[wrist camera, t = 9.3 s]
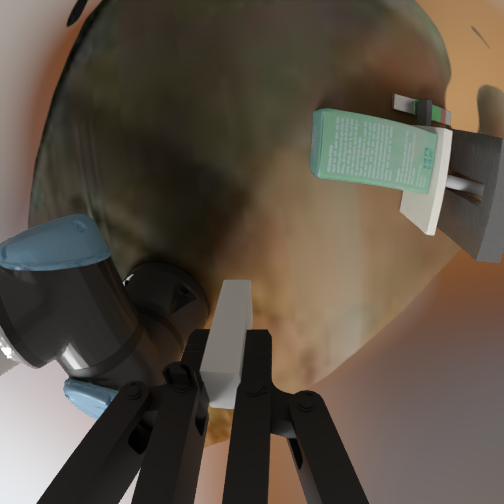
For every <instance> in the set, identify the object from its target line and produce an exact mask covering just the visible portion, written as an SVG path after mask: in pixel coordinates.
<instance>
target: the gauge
mask: <svg viewBox="0 0 504 504" xmlns="http://www.w3.org/2000/svg"><path fill="white" fill-rule="evenodd" d="M392 109H394V110H398V111H402V112H406V113H410V114H412V115H416V116H417V114H418V100H416V99H411V98H408V97H404V96H401V95H397V94H392ZM432 121H435V122H438V123H441V124H445V125H450V122H451V112H449V111H447V110H446V109H443V108H440V107H437V106H435V105H432ZM446 129H448V128H446ZM448 130H451V131H453V132H452V142H451V151H450V159H449V166H448V169H450V170H453V171H455V172H458V173H460V174H463V175H465V176H467V177H470V178H472V179H474V180H477V181H479V182H481V183H483V184H485V185H484V191H483V196H482V200H481V201H480V200H479V199H477V198H475V197H473V196H471V195H469V194H467V193H466V192H464V191H461V190H457V189H453V188H449V187H445V190H444V195H443V200H442V205H441V209H440V214H439V218H438V222H437V227H438V228H439V229H440V230H441V231H443V232H444V233H445V234H446V235H447V236H449V237H450V238H451V239H452V240H453V241H454V242H456V243H457V244H458V245H459V246H460V247H461V248H462V249H463V250H465V251H466V252H467V253H468V254H469V255H470V256H471V257H472V258H473V259H474V260H475V261H484V262H495V263H500V261H501V258H502V255H503V252H504V139H502V138H498V137H493V136H488V135H484V134H479V133H473V132H467V131H462V130H455V129H448Z"/></svg>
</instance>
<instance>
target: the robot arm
mask: <svg viewBox="0 0 504 504" xmlns="http://www.w3.org/2000/svg"><path fill="white" fill-rule="evenodd" d="M110 255H111V251H110V249H109V248H108V247H107V246H106V244H105V242H104V240H103V238H102V235H101V233H100V231H99V229H98V227H97V224H96V223H95V221H94V220H93V219H92V218H91V217H89V216H87V215H84V214H74V215H69V216H65V217H61V218H58V219H55V220H52V221H49V222H46V223H43V224H40V225H38V226H35V227H33V228H30V229H28V230H25V231H23V232H21V233H20V234H18V235H16V236H14V237H12V238H9V239H7V240H5V241H3V242H2V243H0V376H1V375H2V374H4V373H5V372H7V371H8V370H10V369H11V368H13V367H14V366H16V365H18V364H19V363H22V364H25V365H27V366H29V367H32V368H34V369H38V368H41V367H42V366H44V365H46V364H47V363H49V362H51V361H53V360H57V361H58V363H59V364H60V365H61V366H62V368H63V369H64V370H65V371H66V373H67V374H68V375H69V378H68V380H66V381H65V382H64V383H65V385H64V393H65V396H66V397H67V398H68V400H69V401H70V402H71V403H72V404H74V405H75V406H76V407H77V408H78V409H80V410H81V411H83V412H85V413H86V414H87V415H89V416H91V417H93V418H94V419H97V421H96V422H95V424H94V425H93V426H92V428H91V429H90V430H89V432H88V433H87V434H86V436H85V437H84V439H83V440H82V441H81V443H80V444H79V445H78V447H77V448H76V449H75V451H74V452H73V453H72V455H71V456H70V457H69V459H68V460H67V462H66V463H65V464H64V466H63V467H62V469H61V470H60V471H59V473H58V474H57V475H56V477H55V478H54V479H53V481H52V482H51V484H50V485H49V487H48V488H47V489H46V491H45V492H44V494H43V495H42V496H41V498H40V499H39V501H38V502H37V504H118V503H119V502H120V500H121V499H122V497H123V495H124V494H125V492H126V490H127V489H128V487H129V486H130V484H131V483H132V481H133V479H134V478H135V476H136V475H137V473H138V471H139V469H140V468H141V470H140V473H139V476H138V480H137V484H136V487H135V491H134V494H133V498H132V502H131V504H194V499H195V493H196V488H197V482H198V476H199V470H200V465H201V459H202V454H203V448H204V442H205V437H206V431H207V426H208V421H209V413H208V405H209V403H210V406H211V407H213V408H227V409H234V414H233V422H232V430H231V438H230V445H229V453H228V461H227V469H226V477H225V484H224V492H223V501H222V504H268V488H269V486H268V485H269V464H270V463H269V462H270V434H271V433H272V434H276V435H280V436H283V437H286V438H287V442H288V445H289V448H290V451H291V454H292V457H293V460H294V463H295V467H296V470H297V473H298V476H299V479H300V482H301V485H302V488H303V491H304V494H305V497H306V500H307V503H308V504H369V502H368V500H367V498H366V495H365V493H364V491H363V489H362V486H361V484H360V482H359V479H358V477H357V475H356V473H355V471H354V468H353V466H352V464H351V461H350V459H349V457H348V454H347V452H346V450H345V448H344V446H343V443H342V441H341V439H340V436H339V434H338V432H337V430H336V427H335V425H334V423H333V421H332V418H331V416H330V414H329V411H328V409H327V407H326V405H325V403H324V400H323V399H322V397H321V396H320V395H319V394H317V393H316V392H313V391H309V390H306V391H300V392H297V393H295V394H290V393H286V392H283V391H281V390H279V389H277V388H276V387H275V386H274V384H273V382H272V336H271V335H270V333H269V331H268V330H267V329H266V330H252V321H253V313H252V297H251V280H224V281H223V284H222V288H221V292H220V295H219V299H218V303H217V306H216V310H215V314H214V318H213V321H212V325H211V329H203V328H204V326H205V323H206V320H207V317H208V312H209V307H208V301H207V298H206V296H205V293H204V292H203V290H202V288H201V287H200V286H199V284H198V283H197V282H196V281H195V280H194V279H193V278H192V277H191V276H190V275H188V274H187V273H186V272H184V271H183V270H181V269H179V268H177V267H175V266H172V265H169V264H166V263H161V262H148V263H143V264H141V265H138V266H137V267H135V268H134V269H133V270H132V271H131V272H130V273H129V274H128V275H127V277H126V278H125V279H124V281H123V282H122V280H121V278H120V276H119V273H118V271H117V269H116V267H115V265H114V262H113V260H112V258H111V256H110ZM183 351H184V352H183ZM182 353H183V355H182ZM181 356H182V358H181ZM180 359H181V361H180Z"/></svg>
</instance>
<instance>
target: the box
mask: <svg viewBox="0 0 504 504" xmlns="http://www.w3.org/2000/svg"><path fill="white" fill-rule="evenodd" d="M436 144H437V134H436V133H434V132H431V131H429V130H426V129H423V128H419V127H416V126H412V125H409V124H405V123H401V122H397V121H393V120H389V119H384V118H380V117H375V116H370V115H365V114H360V113H354V112H348V111H342V110H335V109H331V108H323V109H319V110H316V111H314V112H313V127H312V142H311V155H310V169H311V171H312V173H313V174H314V175H315V176H316V177H318V178H321V179H332V180H340V181H348V182H356V183H363V184H370V185H376V186H383V187H388V188H394V189H399V190H404V191H410V192H415V193H421V194H428V191H429V186H430V181H431V175H432V170H433V164H434V158H435V151H436Z"/></svg>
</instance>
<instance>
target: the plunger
mask: <svg viewBox="0 0 504 504" xmlns="http://www.w3.org/2000/svg"><path fill="white" fill-rule="evenodd" d="M431 121H432V101H431V100H428V99H422V100H418V114H417V125H412V126H416V127H419V128H423V129H426V130H429V131H431V132H434V133H436V134H437V144H436V151H435V158H434V164H433V170H432V175H431V181H430V186H429V191H428V194H421V193H415V192H410V191H404V190H403V196H402V201H401V206H400V212H401V213H402V214H403V215H405V216H406V217H407V218H408V219H409V220H410V221H412V222H413V223H414V224H415V225H416V226H417V227H418V228H420V229H421V230H422V231H423V232H424V233H425V234H427V235H434V234H435V230H436V226H437V222H438V218H439V214H440V209H441V205H442V200H443V195H444V190H445V187H449V188H453V189H457V190H461V191H465V192H469V193H472V194H476V195H480V196H483V191H484V185H482V184H479V183H476V182H473V181H469V180H466V179H462V178H459V177H455V176H451V175H448V174H447V173H448V166H449V159H450V151H451V142H452V132H453V131H451V130H448V129H445V128H438V127H431Z"/></svg>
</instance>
